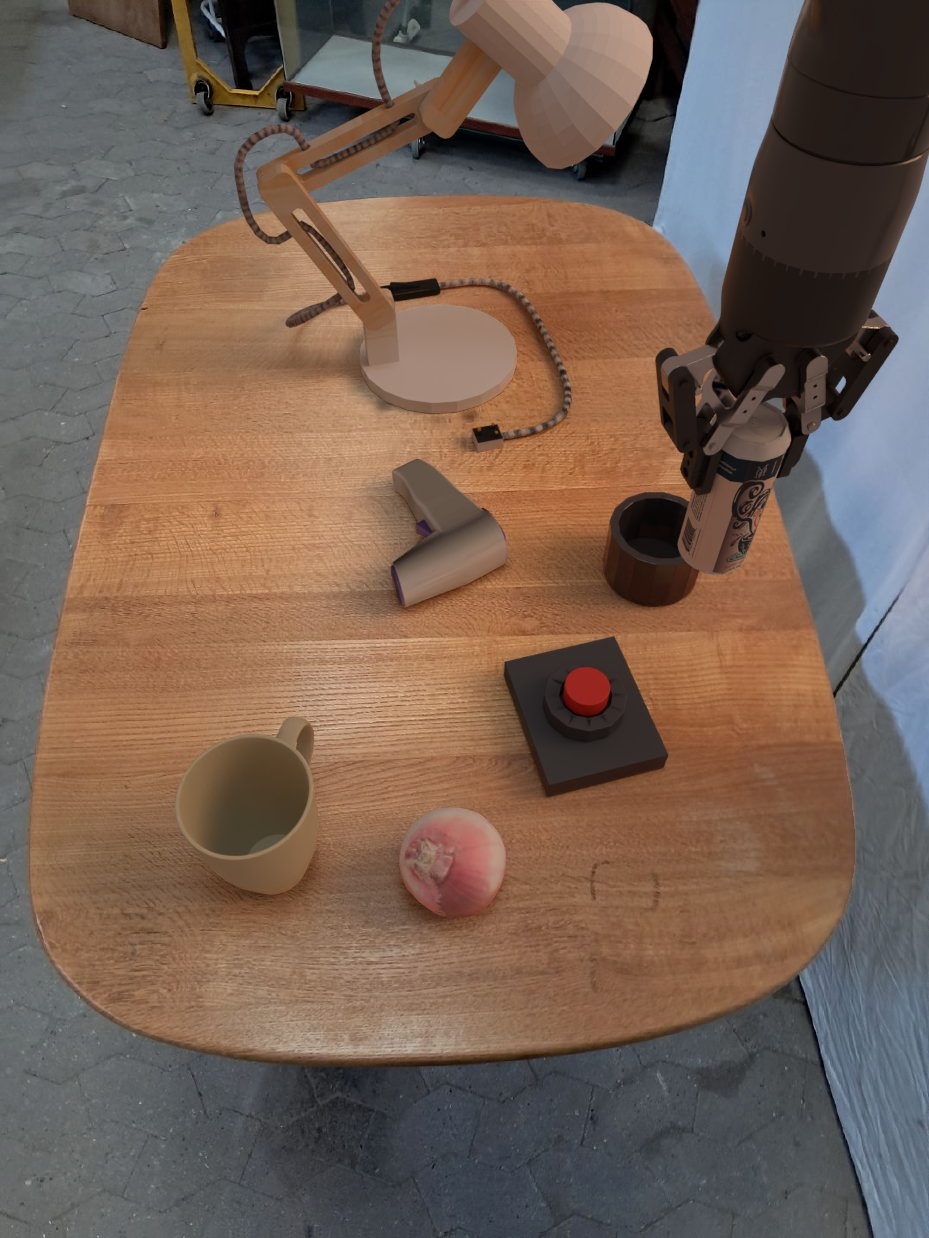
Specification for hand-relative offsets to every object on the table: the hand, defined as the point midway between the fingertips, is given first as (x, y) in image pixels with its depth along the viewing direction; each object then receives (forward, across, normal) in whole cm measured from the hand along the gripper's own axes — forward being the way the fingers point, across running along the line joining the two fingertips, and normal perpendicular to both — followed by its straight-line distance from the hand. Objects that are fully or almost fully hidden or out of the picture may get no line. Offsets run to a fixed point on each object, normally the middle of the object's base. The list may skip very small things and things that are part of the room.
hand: (736, 476), depth 57 cm
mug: (+26, -34, -5) cm, 43 cm away
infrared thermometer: (+26, -16, +22) cm, 38 cm away
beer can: (+8, 0, 0) cm, 8 cm away
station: (+25, -8, -1) cm, 27 cm away
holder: (+25, +4, +13) cm, 29 cm away
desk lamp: (+26, -6, +48) cm, 55 cm away
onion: (+26, -22, -11) cm, 35 cm away
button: (+22, -8, -1) cm, 23 cm away
